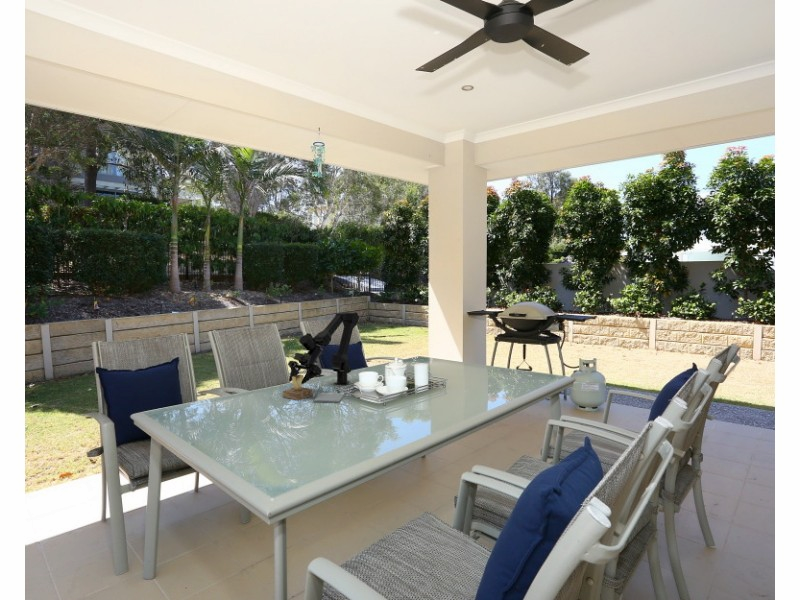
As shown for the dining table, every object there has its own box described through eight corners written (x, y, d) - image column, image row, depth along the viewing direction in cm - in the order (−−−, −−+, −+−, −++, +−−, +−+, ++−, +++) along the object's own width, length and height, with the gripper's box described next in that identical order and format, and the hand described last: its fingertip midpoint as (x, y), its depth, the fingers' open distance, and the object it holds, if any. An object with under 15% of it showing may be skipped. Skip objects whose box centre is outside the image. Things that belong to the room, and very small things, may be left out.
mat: (320, 395, 225) (320, 393, 225) (344, 395, 224) (344, 393, 224) (313, 402, 213) (313, 400, 213) (339, 403, 212) (339, 400, 212)
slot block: (298, 392, 230) (298, 386, 230) (312, 395, 224) (312, 389, 224) (283, 396, 222) (282, 390, 222) (297, 400, 216) (297, 394, 216)
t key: (300, 394, 226) (299, 374, 225) (303, 395, 224) (303, 375, 224) (292, 396, 222) (292, 376, 221) (296, 397, 220) (295, 377, 220)
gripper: (290, 344, 230) (273, 370, 222) (317, 348, 219) (300, 375, 211) (302, 357, 237) (285, 383, 229) (328, 361, 226) (312, 388, 218)
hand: (295, 382), depth 221 cm, fingers open, 8 cm apart
